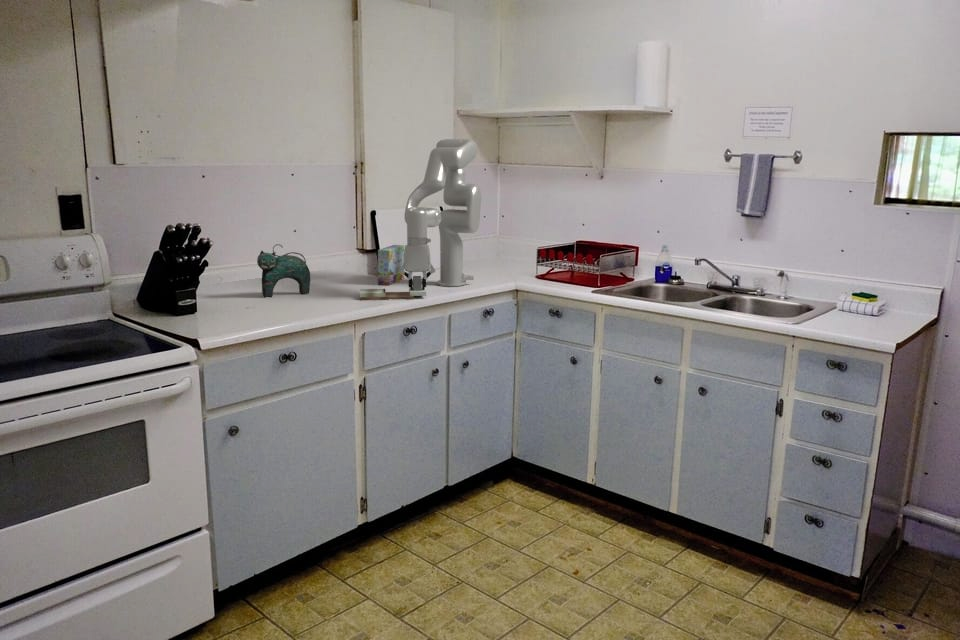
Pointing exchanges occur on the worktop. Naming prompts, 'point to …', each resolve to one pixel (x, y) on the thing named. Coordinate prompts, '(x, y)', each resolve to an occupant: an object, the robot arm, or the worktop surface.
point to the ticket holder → (382, 294)
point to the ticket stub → (417, 287)
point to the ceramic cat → (283, 271)
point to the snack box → (390, 264)
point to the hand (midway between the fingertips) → (417, 288)
